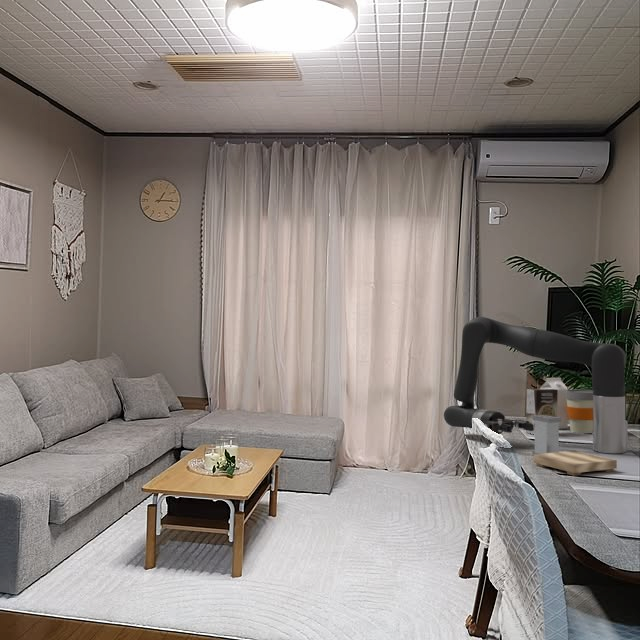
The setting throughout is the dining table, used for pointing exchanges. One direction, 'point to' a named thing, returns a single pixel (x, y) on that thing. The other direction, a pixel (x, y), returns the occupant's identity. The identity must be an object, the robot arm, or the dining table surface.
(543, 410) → the coffee box
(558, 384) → the milk carton
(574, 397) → the reusable coffee cup
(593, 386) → the robot arm
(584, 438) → the dining table surface
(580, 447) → the dining table surface
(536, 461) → the birch stand
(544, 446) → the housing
